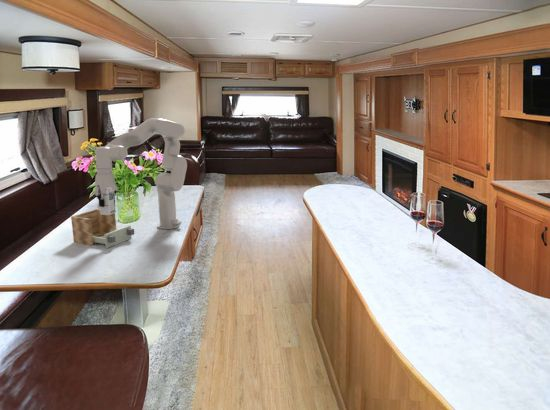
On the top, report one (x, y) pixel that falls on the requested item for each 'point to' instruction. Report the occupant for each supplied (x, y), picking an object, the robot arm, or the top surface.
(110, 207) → the syrup box
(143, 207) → the top surface
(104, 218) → the bay
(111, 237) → the tray
